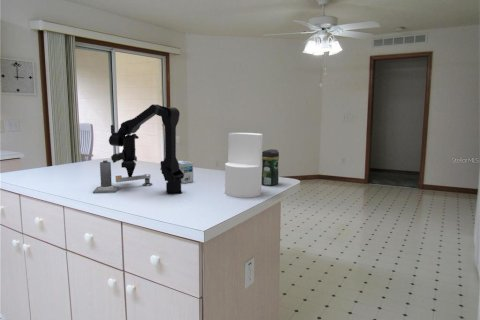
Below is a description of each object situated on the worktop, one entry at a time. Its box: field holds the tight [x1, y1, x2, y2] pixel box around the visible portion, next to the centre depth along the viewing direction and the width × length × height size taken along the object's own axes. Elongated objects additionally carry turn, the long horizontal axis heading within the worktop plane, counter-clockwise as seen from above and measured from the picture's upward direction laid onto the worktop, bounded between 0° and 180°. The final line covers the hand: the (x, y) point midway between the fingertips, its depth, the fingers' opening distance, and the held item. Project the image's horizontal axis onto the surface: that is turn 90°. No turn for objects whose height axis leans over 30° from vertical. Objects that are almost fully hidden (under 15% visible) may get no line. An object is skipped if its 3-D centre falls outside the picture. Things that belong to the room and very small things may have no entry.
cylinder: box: [224, 132, 264, 198], centre depth 162 cm, size 17×17×28 cm
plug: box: [99, 160, 114, 190], centre depth 165 cm, size 6×6×13 cm
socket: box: [92, 185, 120, 194], centre depth 166 cm, size 10×10×1 cm
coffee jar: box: [261, 148, 280, 187], centre depth 182 cm, size 10×8×19 cm
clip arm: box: [115, 173, 151, 183], centre depth 173 cm, size 18×3×3 cm, turn 130°
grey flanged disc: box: [142, 178, 153, 187], centre depth 178 cm, size 5×5×3 cm
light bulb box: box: [177, 160, 194, 184], centre depth 187 cm, size 11×7×11 cm, turn 47°
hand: (129, 178), depth 173 cm, fingers closed
